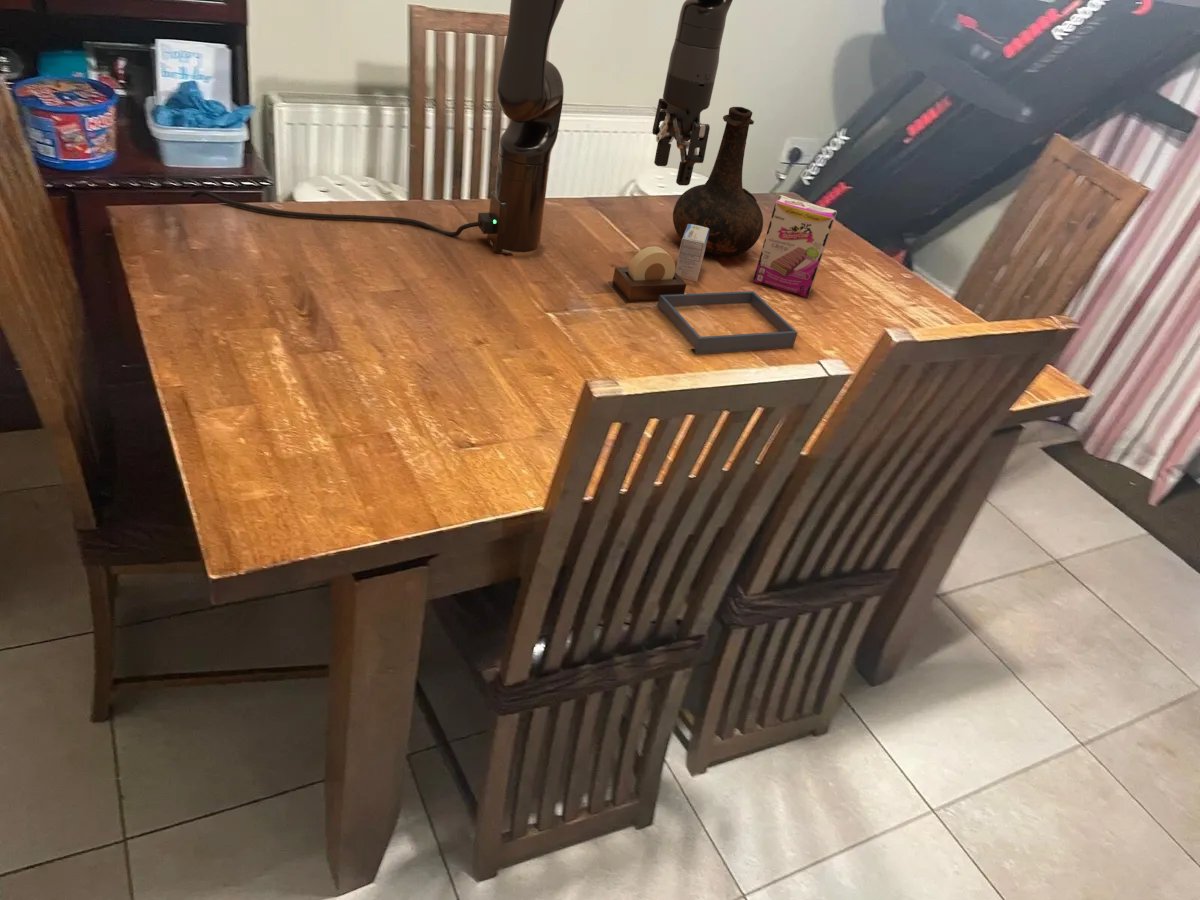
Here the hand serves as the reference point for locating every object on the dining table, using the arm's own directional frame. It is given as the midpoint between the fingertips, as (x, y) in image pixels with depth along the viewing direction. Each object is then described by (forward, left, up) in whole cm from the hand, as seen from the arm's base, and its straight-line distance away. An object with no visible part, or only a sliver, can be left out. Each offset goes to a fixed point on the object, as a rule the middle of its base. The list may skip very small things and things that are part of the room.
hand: (671, 174), depth 152 cm
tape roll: (0, 0, -21) cm, 21 cm away
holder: (0, 0, -22) cm, 22 cm away
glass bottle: (+23, +19, -22) cm, 37 cm away
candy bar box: (+30, +2, -22) cm, 37 cm away
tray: (+9, -13, -22) cm, 27 cm away
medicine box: (+12, +8, -22) cm, 26 cm away
